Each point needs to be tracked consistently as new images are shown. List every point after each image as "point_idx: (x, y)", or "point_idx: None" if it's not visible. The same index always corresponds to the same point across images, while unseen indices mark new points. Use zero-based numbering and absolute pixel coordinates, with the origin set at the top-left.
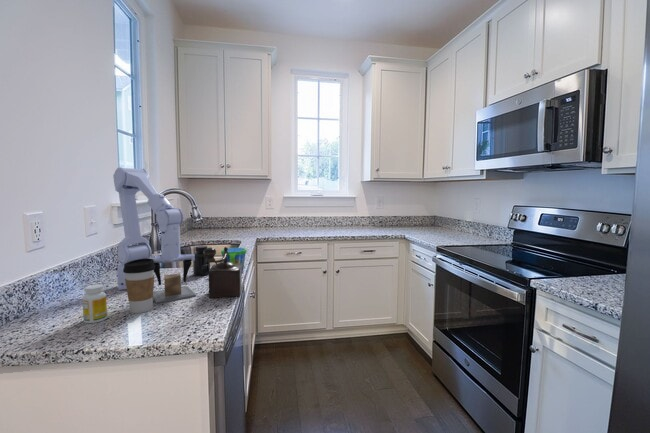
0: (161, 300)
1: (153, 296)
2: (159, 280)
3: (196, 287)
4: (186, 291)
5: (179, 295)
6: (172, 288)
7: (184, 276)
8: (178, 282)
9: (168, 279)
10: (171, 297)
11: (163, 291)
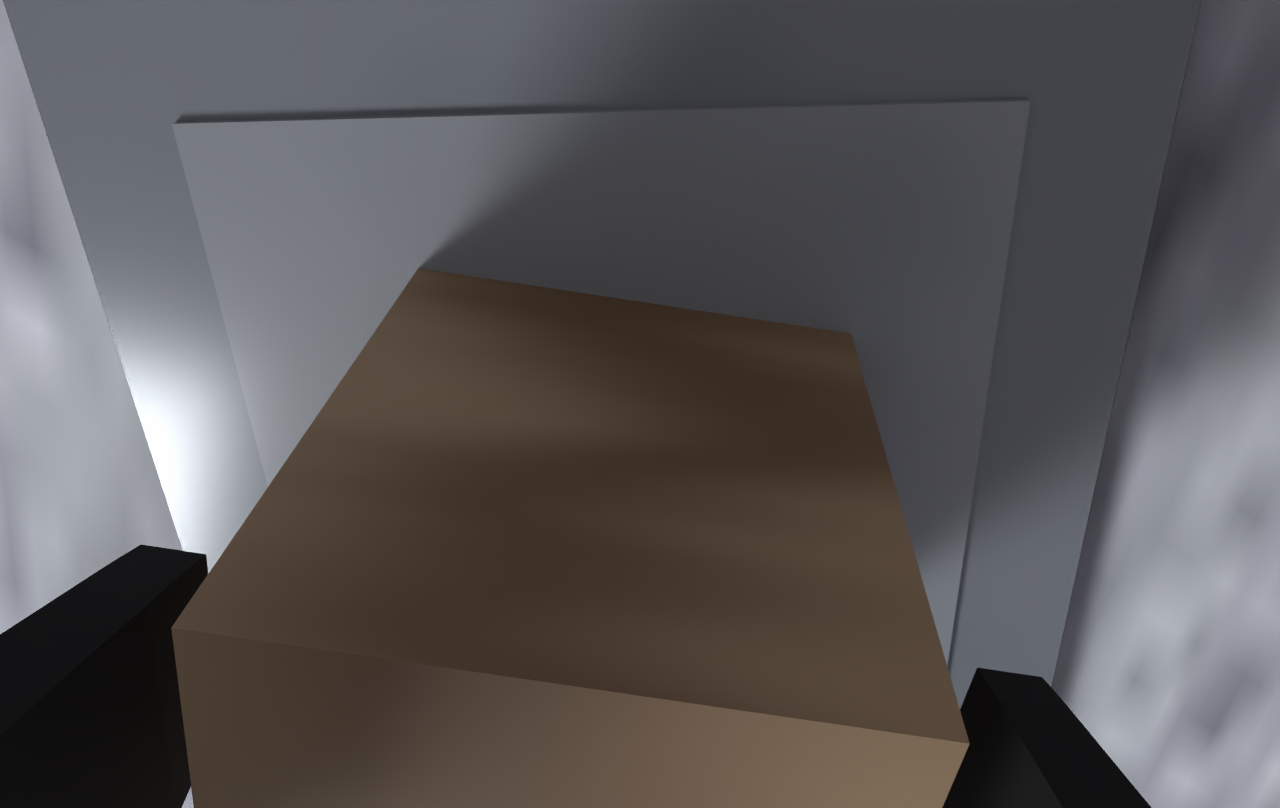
0: (1044, 14)
1: (1088, 500)
2: (1098, 803)
3: None
4: (272, 403)
5: (479, 164)
6: (635, 400)
7: (22, 687)
8: (376, 477)
9: (769, 666)
10: (722, 106)
11: None
